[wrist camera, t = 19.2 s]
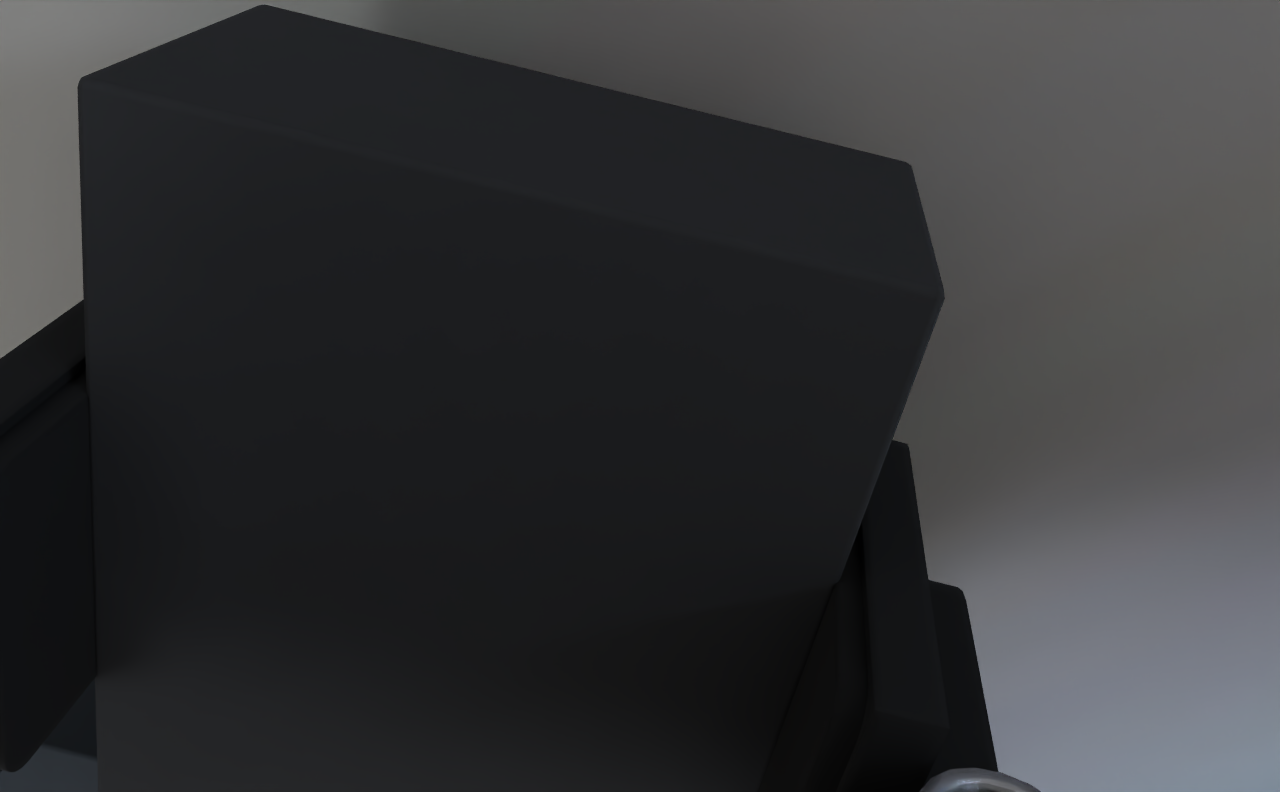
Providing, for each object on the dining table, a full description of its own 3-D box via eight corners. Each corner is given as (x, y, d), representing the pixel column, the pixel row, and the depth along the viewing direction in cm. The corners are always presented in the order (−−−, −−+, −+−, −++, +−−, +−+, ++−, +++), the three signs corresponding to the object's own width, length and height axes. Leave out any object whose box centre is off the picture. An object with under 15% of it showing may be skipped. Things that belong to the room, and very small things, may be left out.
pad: (260, 0, 10) (71, 76, 8) (914, 162, 10) (949, 292, 8) (221, 828, 16) (102, 1040, 13) (652, 938, 16) (620, 1174, 13)
